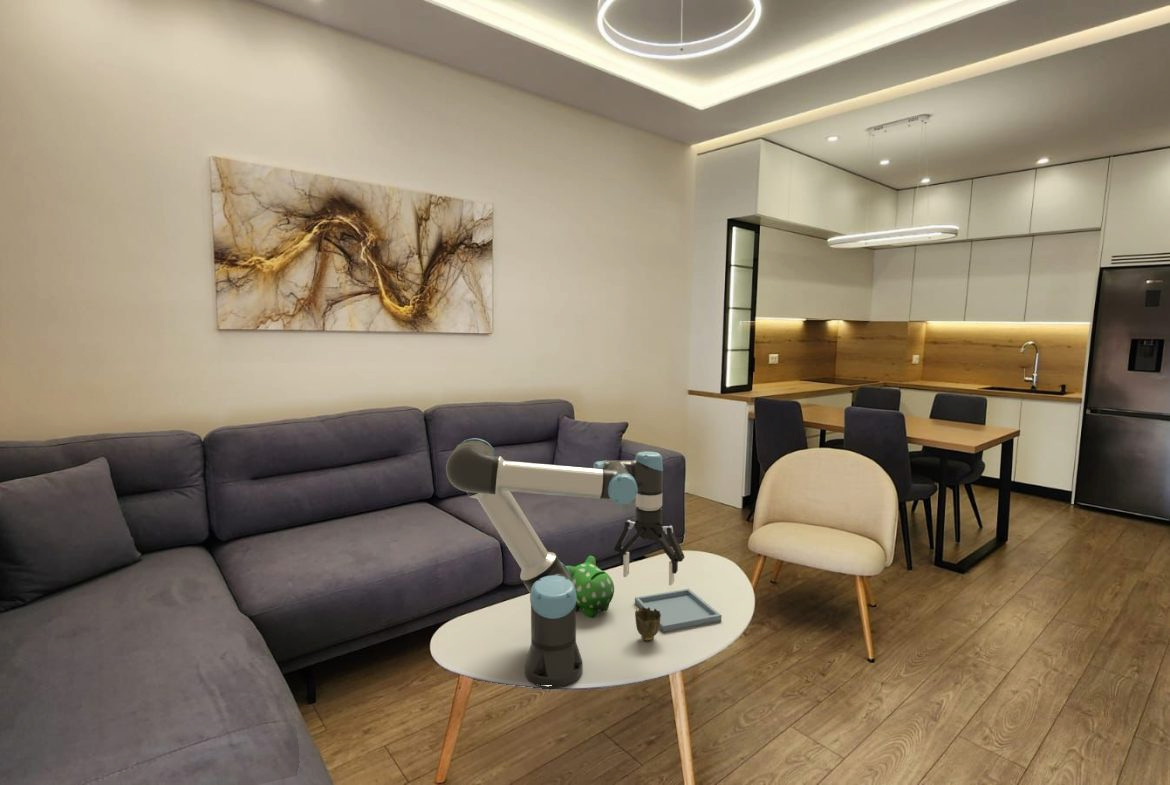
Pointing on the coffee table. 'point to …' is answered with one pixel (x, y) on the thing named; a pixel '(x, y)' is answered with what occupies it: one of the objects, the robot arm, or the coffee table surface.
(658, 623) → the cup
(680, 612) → the tray
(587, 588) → the piggy bank
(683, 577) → the coffee table surface
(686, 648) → the coffee table surface
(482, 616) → the coffee table surface
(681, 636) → the coffee table surface
